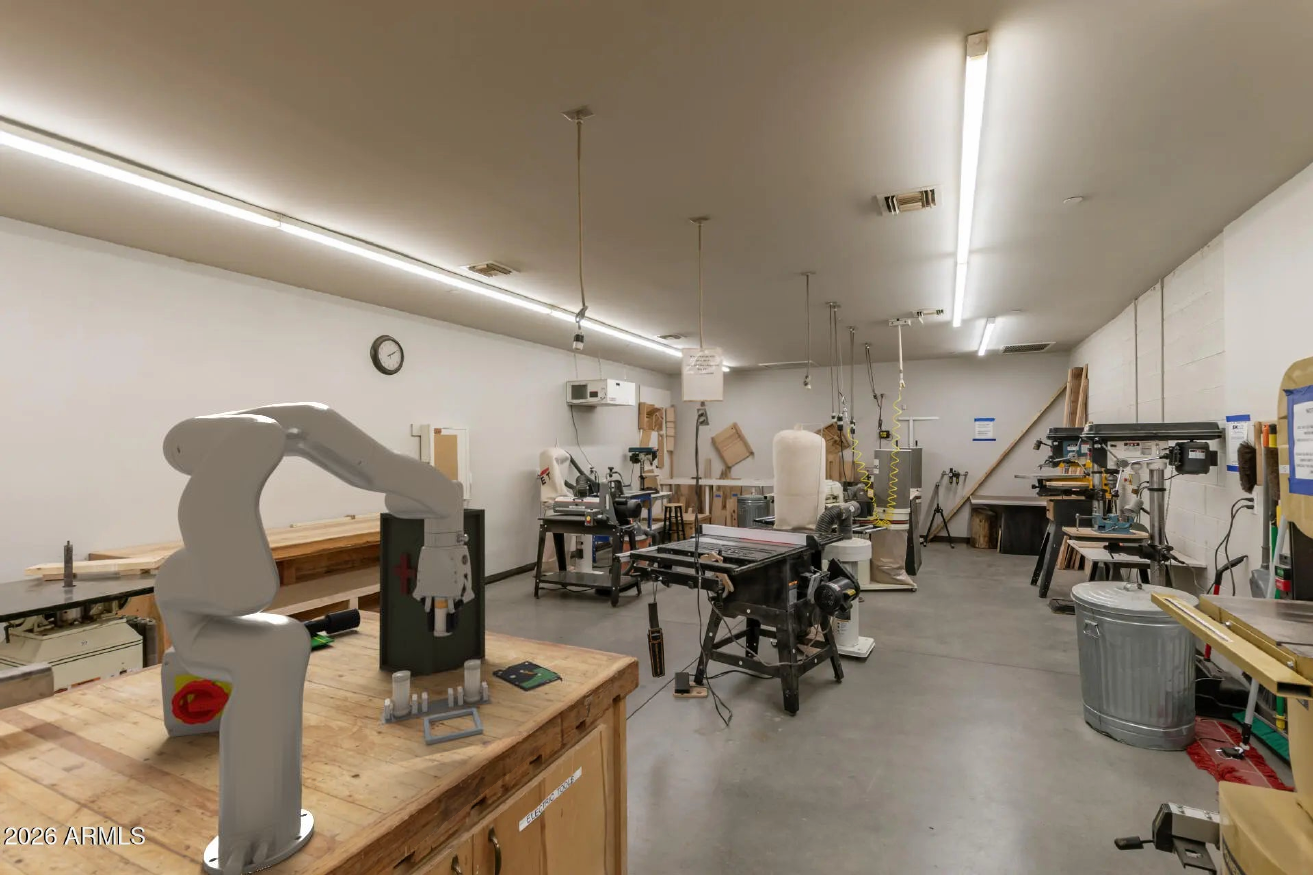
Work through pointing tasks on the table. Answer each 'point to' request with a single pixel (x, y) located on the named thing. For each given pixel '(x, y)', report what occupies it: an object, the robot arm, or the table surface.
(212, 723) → the electrical switch box
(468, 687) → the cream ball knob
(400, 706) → the domed white capsule
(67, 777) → the table surface
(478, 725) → the tray
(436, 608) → the cylinder
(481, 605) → the first aid box
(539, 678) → the disk drive
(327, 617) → the electronic board model
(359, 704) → the table surface
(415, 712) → the fuse holder
